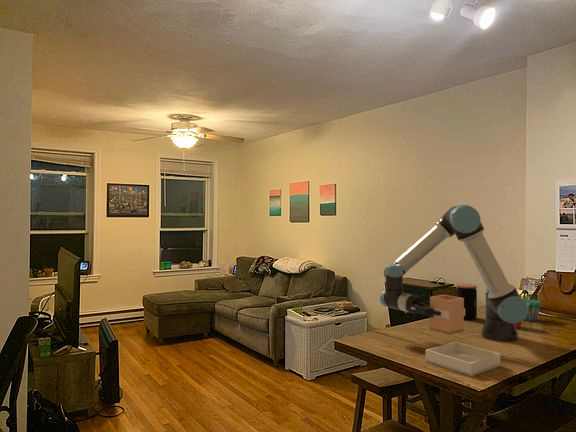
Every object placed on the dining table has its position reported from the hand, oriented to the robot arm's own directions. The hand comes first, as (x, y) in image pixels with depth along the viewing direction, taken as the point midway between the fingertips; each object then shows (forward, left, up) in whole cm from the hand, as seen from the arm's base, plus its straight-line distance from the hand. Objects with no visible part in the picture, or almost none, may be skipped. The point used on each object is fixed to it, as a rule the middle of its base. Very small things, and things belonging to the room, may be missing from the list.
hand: (456, 313), depth 172 cm
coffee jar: (-13, -74, -18) cm, 77 cm away
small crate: (+3, -3, -8) cm, 9 cm away
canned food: (-33, -61, -18) cm, 72 cm away
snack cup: (-45, -80, -18) cm, 93 cm away
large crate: (-2, +4, -18) cm, 18 cm away
